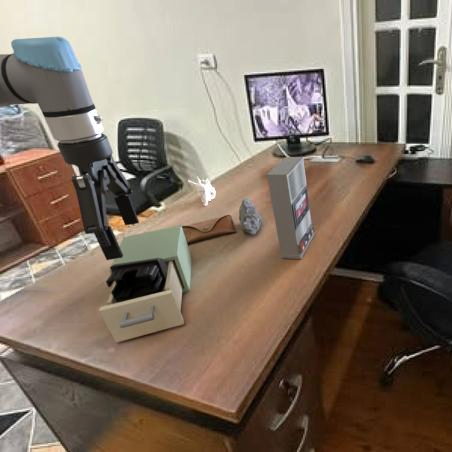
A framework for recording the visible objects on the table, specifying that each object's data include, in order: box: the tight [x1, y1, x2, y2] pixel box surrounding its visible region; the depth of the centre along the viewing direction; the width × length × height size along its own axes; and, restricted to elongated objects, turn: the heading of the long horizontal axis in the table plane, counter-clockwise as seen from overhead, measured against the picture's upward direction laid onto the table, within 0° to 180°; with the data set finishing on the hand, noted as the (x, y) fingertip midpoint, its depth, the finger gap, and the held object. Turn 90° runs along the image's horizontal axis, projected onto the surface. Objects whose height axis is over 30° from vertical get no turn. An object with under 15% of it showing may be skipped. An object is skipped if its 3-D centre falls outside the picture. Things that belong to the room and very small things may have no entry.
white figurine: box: [187, 175, 217, 207], centre depth 137 cm, size 12×8×10 cm, turn 169°
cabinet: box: [108, 224, 193, 294], centre depth 91 cm, size 17×15×11 cm
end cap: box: [105, 258, 167, 303], centre depth 76 cm, size 10×7×7 cm
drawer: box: [98, 260, 185, 343], centre depth 78 cm, size 20×14×9 cm
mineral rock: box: [238, 197, 262, 236], centre depth 113 cm, size 13×11×10 cm
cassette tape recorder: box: [266, 156, 316, 260], centre depth 97 cm, size 14×6×25 cm, turn 167°
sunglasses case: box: [181, 214, 237, 246], centre depth 113 cm, size 18×7×7 cm, turn 115°
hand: (124, 239), depth 72 cm, fingers open, 13 cm apart
